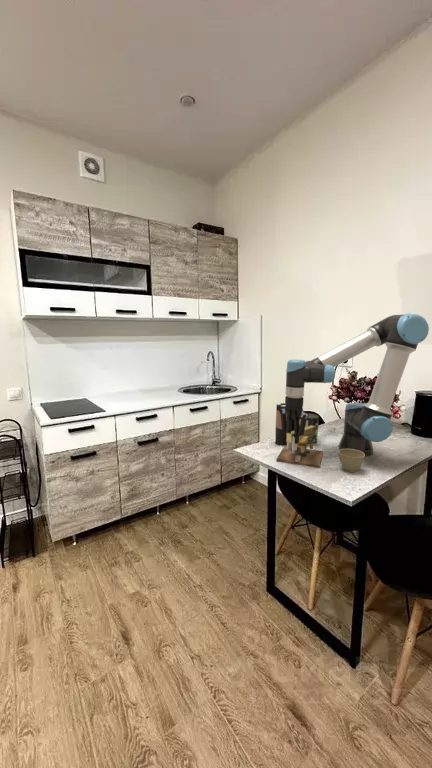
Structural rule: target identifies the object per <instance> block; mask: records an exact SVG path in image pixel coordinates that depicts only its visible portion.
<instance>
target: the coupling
mask: <svg viewBox="0 0 432 768" xmlns="http://www.w3.org/2000/svg"><path fill="white" fill-rule="evenodd" d="M315 432H316V426H312V425H311V426H307V427H305V430H304V435H302V436H299V443H298V444H297V447H300V448H301V452H302V453H304V452H305V446H307V447H308V444H309V445H310V446H309V449H312V450H314V446H315V445H314V443H311V442H308V437H311V436H313V435H315ZM293 436H294V430H291V432H288V433H287V441H286V442H289V443H292V439H293Z"/></svg>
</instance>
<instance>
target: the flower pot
mask: <svg viewBox="0 0 432 768" xmlns="http://www.w3.org/2000/svg"><path fill="white" fill-rule="evenodd" d="M365 458H366V456H365V454H364V453H363V452H361V451H358V450H355V449H341V450H339V449H338V459H339V461H340V464H341V466H342V468H343V470H345V471H347V472H351V473H354V472H357V471H358V470H359V469H360V467H361V466H362V464H363V463H364V460H365Z"/></svg>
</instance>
